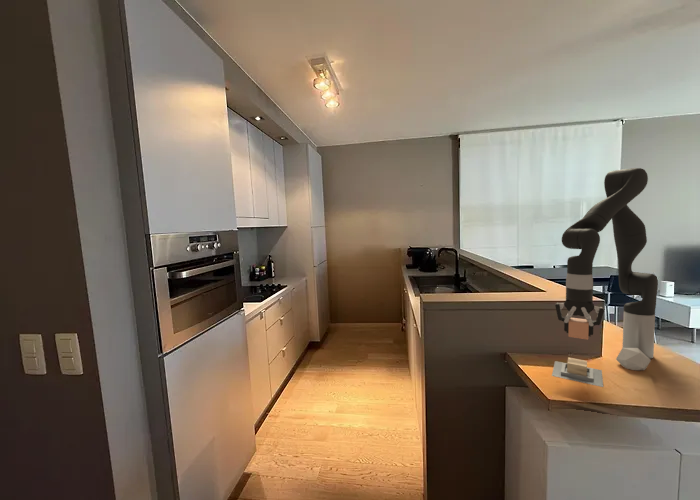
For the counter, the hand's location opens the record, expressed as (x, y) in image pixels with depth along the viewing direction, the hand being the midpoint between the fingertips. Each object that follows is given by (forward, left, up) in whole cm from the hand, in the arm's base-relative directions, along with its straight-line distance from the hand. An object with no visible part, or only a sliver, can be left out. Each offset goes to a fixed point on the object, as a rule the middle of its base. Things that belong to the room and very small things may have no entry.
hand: (578, 334), depth 109 cm
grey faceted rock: (-16, +16, -16) cm, 27 cm away
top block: (0, 0, -1) cm, 1 cm away
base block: (0, 0, -14) cm, 14 cm away
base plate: (0, 0, -15) cm, 15 cm away
